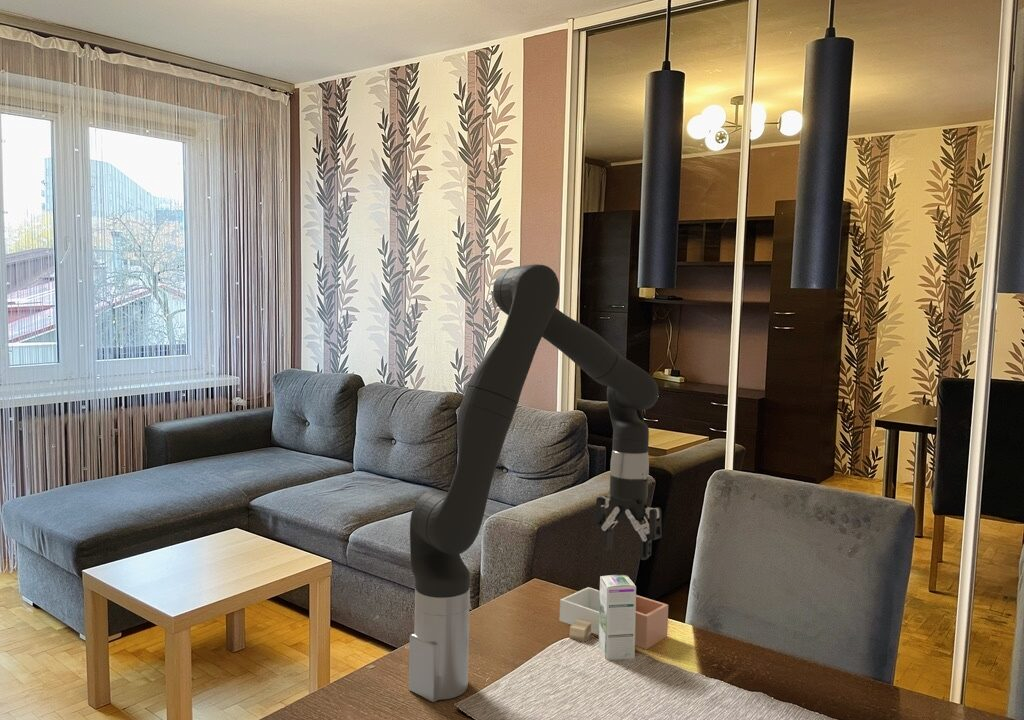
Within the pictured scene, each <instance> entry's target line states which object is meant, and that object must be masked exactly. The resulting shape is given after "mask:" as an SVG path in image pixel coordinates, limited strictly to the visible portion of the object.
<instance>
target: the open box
mask: <svg viewBox="0 0 1024 720" xmlns="http://www.w3.org/2000/svg"><path fill="white" fill-rule="evenodd" d="M668 619H669V604H667V603H665V602H661V601H657V600H655V599H650V598H648V597H644V596H641V595H638V594H636V621H635V647H638V648H640V649H643V650H648V649H649V648H651V647H653V646H654V645H656V644H658V643H659V642H661V641H663V640H665V638H667V637H668V629H669V627H668V626H669V625H668V624H669V620H668Z"/></svg>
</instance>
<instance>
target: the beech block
mask: <svg viewBox="0 0 1024 720" xmlns="http://www.w3.org/2000/svg"><path fill="white" fill-rule="evenodd" d="M591 635H592V632H591V623H590V622H585V621H581V620H576V621H575V622H574V623H573V624H572V625H570V626H569V637H568V638H569V639H571V640H574V639H576V640H575V641H578V640H580V641H579V642H583V641H584V642H585V641H586V640H587V639H588V638H589V637H590V636H591Z"/></svg>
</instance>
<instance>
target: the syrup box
mask: <svg viewBox="0 0 1024 720" xmlns="http://www.w3.org/2000/svg"><path fill="white" fill-rule="evenodd" d="M599 591H600V609H599V635H598V649H599V650H600V652H601V654H602V655H603V657H604V659H605V660H606V661H609V660H633V659H635V656H636V655H635V653H636V652H635V651H636V646H635V621H636V595H637V586H636V585H635V583H634V582H633V581H632V579H630V576H629V575H625V574H611V575H610V574H609V575H602V576H601V575H600V577H599Z"/></svg>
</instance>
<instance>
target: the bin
mask: <svg viewBox="0 0 1024 720" xmlns="http://www.w3.org/2000/svg"><path fill="white" fill-rule="evenodd" d="M599 609H600V589H599V590H598V589H595V588H592V587H591V586H590V587H589V586H588V587H586V588H583V589H580V590H578V591H576V592H575V593H572V594H570V595H568V596H566V597H565V596H564V597H563V598H561V599H559V618H558V619H559V622H562V623H563V624H564V623H565V624H568V625H570V626H571V625H572V624H573V623H574V622H575V621H576V620H581V621H585V622H590V623H591V634H595V635H598V636H599Z"/></svg>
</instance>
